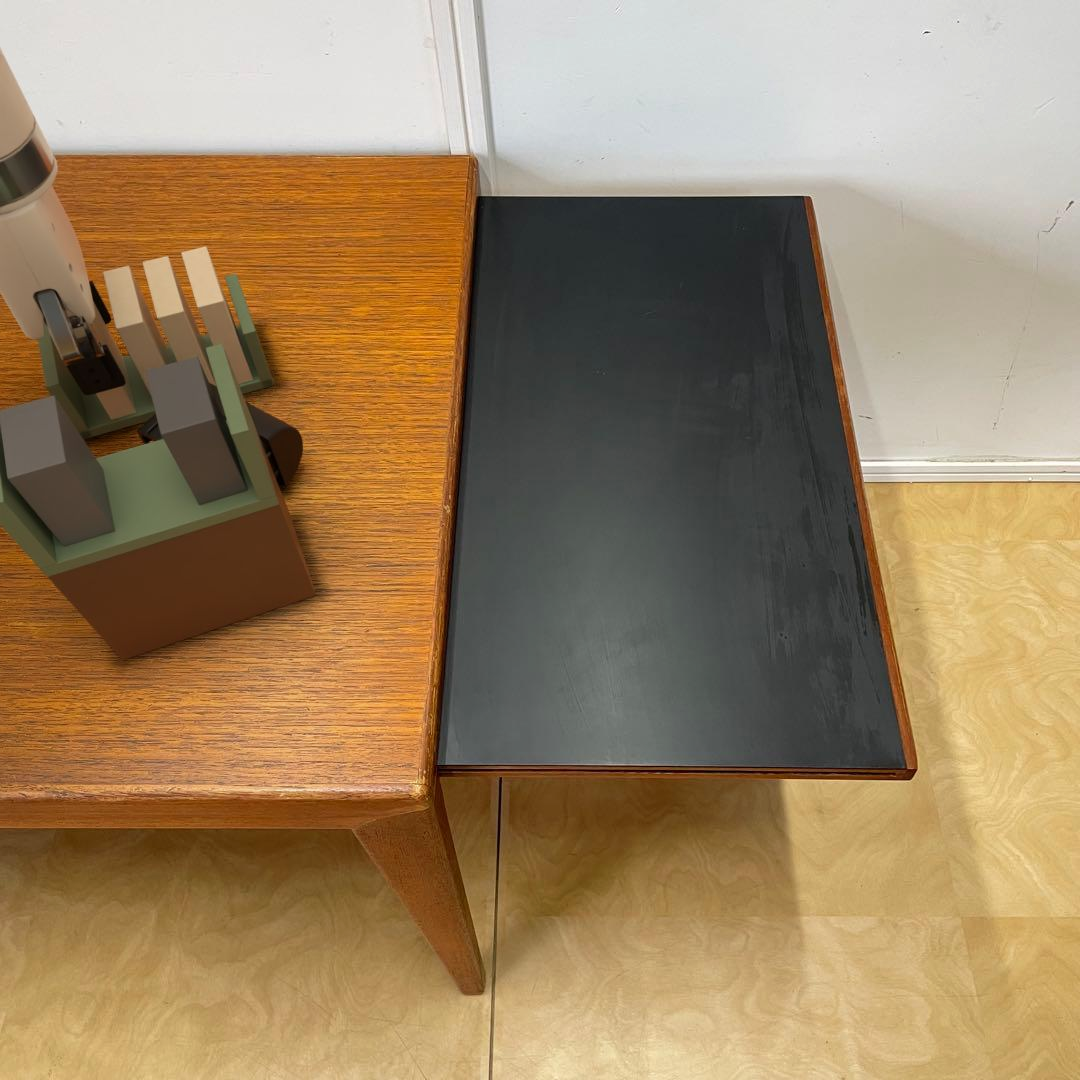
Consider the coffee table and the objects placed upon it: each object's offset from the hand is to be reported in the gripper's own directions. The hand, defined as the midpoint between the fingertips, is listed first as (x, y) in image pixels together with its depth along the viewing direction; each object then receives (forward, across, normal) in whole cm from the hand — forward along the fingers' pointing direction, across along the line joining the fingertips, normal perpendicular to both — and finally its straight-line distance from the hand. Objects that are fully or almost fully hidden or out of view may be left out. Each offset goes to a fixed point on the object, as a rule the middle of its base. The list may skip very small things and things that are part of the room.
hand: (98, 354), depth 73 cm
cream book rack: (+5, 0, +4) cm, 7 cm away
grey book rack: (+5, +21, +3) cm, 22 cm away
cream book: (+4, 0, 0) cm, 4 cm away
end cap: (+5, +11, +7) cm, 14 cm away
